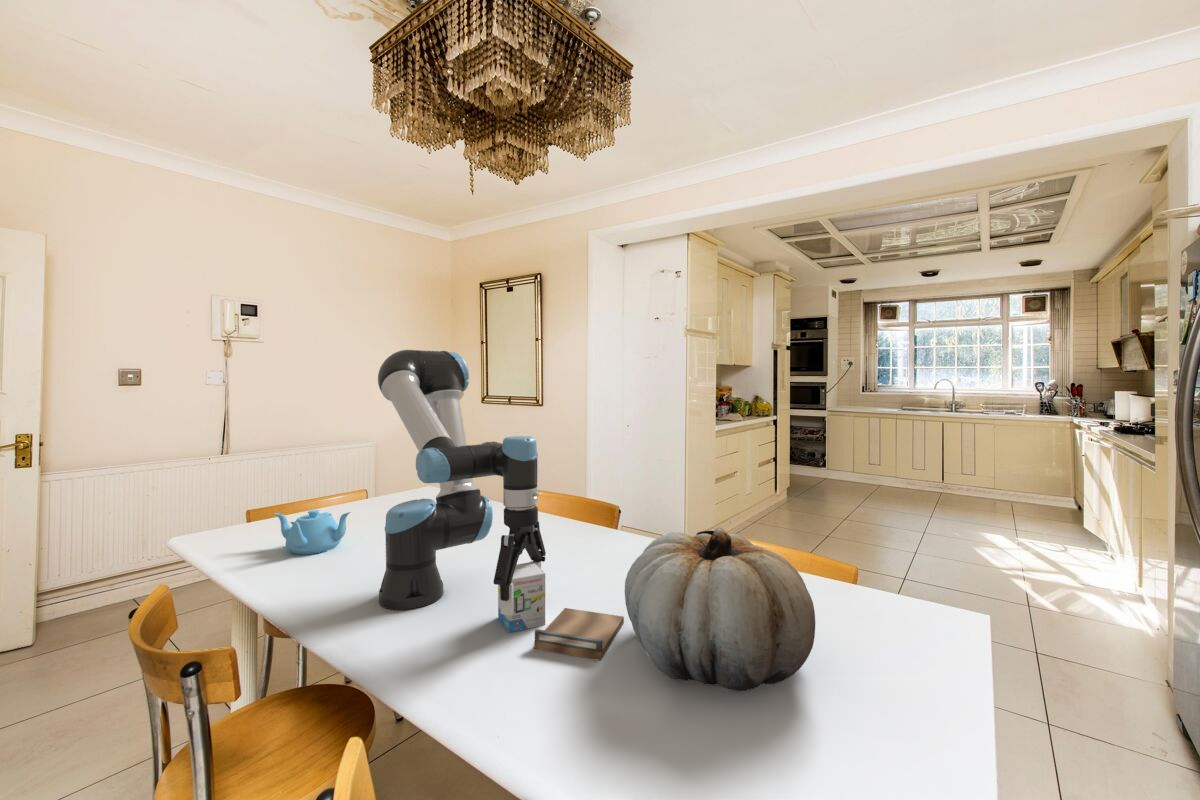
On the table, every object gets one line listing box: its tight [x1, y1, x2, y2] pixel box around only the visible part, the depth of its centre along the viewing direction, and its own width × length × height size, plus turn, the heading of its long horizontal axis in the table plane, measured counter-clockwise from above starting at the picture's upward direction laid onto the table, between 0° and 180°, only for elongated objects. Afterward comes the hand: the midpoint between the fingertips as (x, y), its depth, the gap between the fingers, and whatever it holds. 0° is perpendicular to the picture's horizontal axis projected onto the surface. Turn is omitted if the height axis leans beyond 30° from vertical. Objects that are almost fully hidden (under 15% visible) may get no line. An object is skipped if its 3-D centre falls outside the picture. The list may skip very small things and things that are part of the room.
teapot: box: [273, 509, 352, 555], centre depth 164 cm, size 17×19×12 cm
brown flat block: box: [533, 607, 625, 661], centre depth 106 cm, size 14×16×4 cm
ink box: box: [497, 561, 546, 633], centre depth 113 cm, size 8×8×12 cm
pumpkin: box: [624, 527, 816, 692], centre depth 98 cm, size 37×36×25 cm
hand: (522, 601), depth 113 cm, fingers open, 13 cm apart
